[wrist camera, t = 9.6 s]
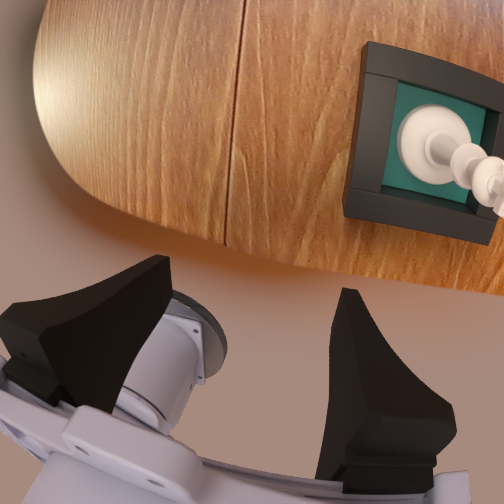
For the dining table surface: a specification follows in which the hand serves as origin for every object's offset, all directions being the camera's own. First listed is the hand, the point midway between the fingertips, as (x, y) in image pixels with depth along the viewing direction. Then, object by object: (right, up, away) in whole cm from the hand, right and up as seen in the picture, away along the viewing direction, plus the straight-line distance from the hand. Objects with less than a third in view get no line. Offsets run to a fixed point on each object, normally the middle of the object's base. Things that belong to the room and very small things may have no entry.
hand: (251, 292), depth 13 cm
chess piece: (+11, +8, +3) cm, 14 cm away
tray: (+11, +9, +4) cm, 15 cm away
